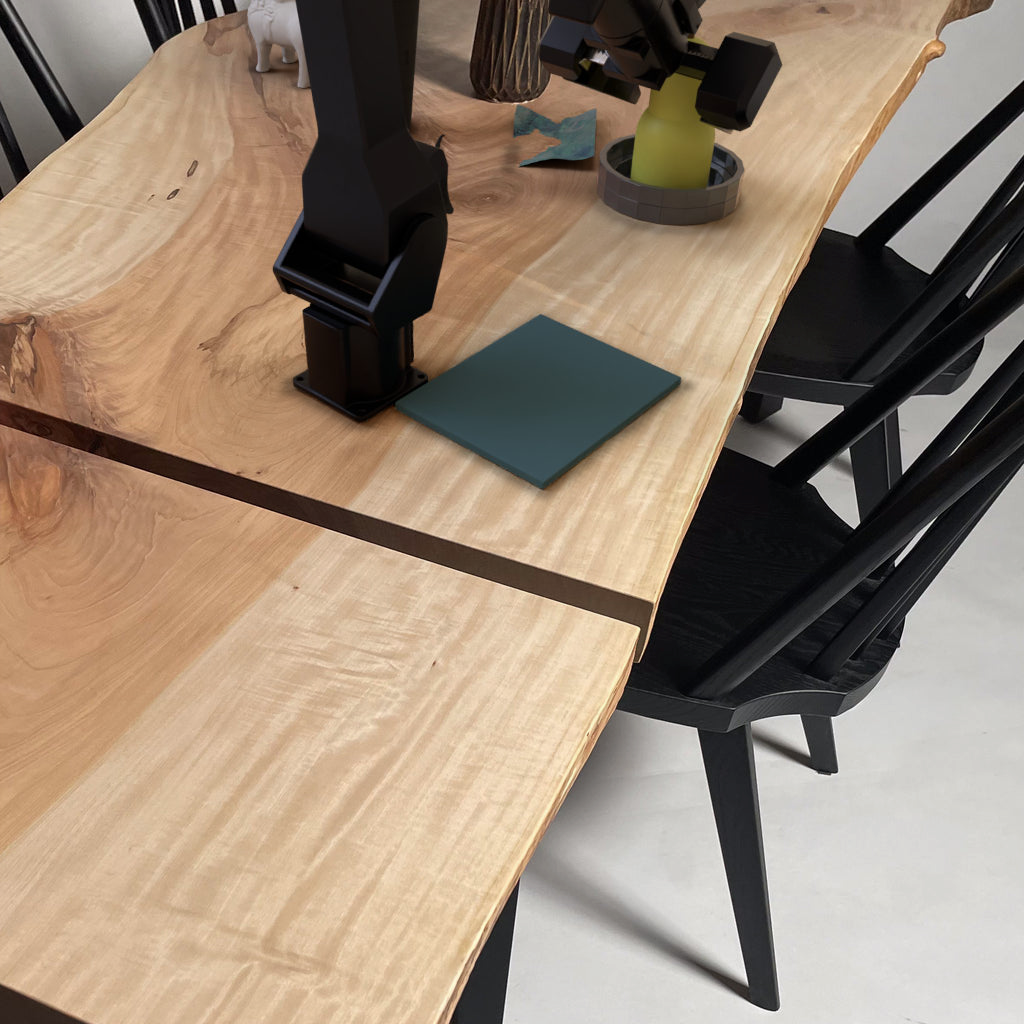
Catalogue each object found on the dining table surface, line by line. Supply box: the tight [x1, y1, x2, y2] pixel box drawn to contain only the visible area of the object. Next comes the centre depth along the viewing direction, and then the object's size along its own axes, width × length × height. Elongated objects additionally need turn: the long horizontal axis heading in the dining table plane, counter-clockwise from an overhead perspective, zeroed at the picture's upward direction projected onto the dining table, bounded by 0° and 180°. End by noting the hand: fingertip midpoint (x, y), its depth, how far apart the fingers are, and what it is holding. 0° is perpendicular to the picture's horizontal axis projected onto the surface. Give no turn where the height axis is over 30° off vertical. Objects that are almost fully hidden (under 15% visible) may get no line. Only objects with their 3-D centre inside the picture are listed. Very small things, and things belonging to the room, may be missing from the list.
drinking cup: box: [392, 0, 421, 133], centre depth 98 cm, size 8×8×20 cm
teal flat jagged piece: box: [512, 104, 598, 168], centre depth 102 cm, size 13×8×2 cm, turn 176°
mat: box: [394, 313, 682, 490], centre depth 72 cm, size 15×12×1 cm
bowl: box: [596, 133, 746, 226], centre depth 94 cm, size 12×12×4 cm
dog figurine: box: [246, 0, 311, 89], centre depth 112 cm, size 5×13×11 cm, turn 51°
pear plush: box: [630, 34, 716, 189], centre depth 90 cm, size 7×7×14 cm
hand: (683, 113), depth 91 cm, fingers open, 9 cm apart
